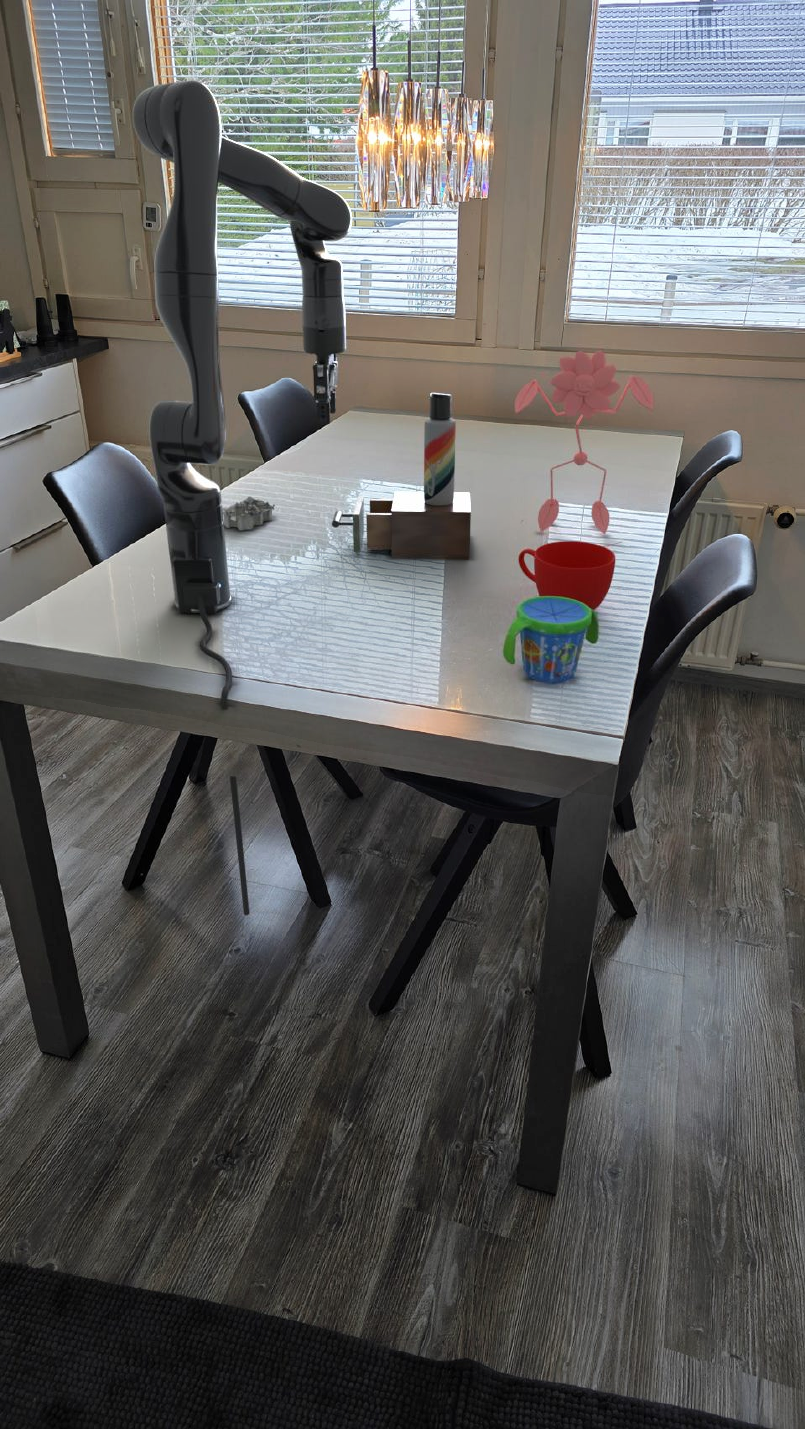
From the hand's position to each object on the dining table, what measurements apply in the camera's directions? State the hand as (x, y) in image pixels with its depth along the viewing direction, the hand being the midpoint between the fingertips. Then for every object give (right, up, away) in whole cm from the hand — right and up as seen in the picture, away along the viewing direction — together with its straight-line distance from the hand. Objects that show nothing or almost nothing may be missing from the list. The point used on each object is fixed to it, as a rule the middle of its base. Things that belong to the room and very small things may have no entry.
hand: (327, 418), depth 181 cm
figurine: (+47, -19, +17) cm, 54 cm away
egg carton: (-18, -14, +25) cm, 34 cm away
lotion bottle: (+21, -14, +7) cm, 26 cm away
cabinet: (+19, -22, +12) cm, 31 cm away
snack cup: (+35, -48, -35) cm, 69 cm away
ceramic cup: (+40, -36, -14) cm, 56 cm away
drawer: (+9, -21, +11) cm, 25 cm away
